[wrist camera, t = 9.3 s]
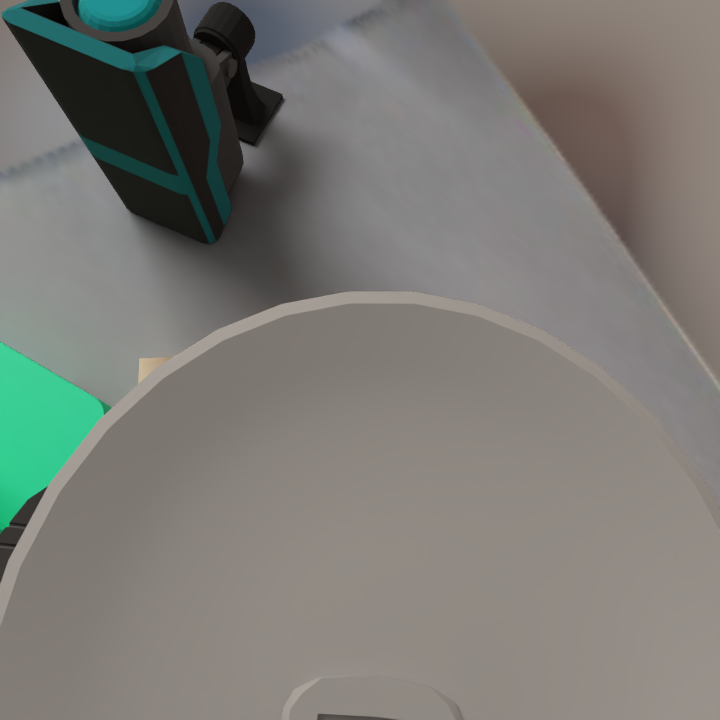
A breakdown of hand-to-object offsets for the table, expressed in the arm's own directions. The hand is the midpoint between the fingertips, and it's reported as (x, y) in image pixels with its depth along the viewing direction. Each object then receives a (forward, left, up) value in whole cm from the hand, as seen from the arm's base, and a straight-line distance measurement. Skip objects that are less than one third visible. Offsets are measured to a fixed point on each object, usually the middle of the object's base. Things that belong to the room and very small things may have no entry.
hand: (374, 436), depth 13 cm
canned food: (-1, -3, -4) cm, 5 cm away
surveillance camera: (-7, +18, -15) cm, 24 cm away
